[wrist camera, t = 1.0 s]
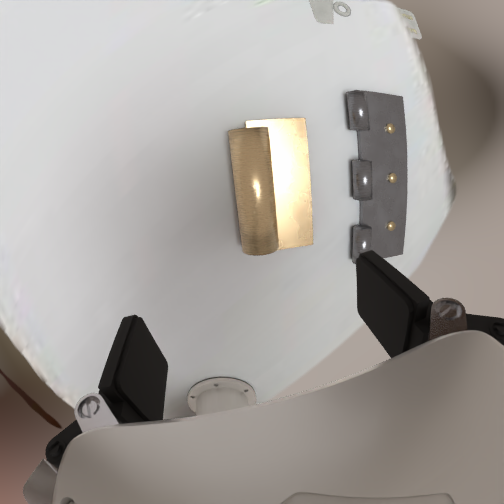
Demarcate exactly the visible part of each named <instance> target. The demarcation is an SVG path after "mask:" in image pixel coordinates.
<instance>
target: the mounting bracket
mask: <svg viewBox="0 0 504 504" xmlns="http://www.w3.org/2000/svg"><path fill="white" fill-rule="evenodd" d="M309 2H310V5H311V8H312V11H313V14H314V17H315V19H316V20H317V21H318V22H319V23H325V24H333V9H334V10H335V12H336V13H337V14H339V15H341V16H344V17H346V16H349V15H350V14H351V10H350V8H349V6H347V5H346V4H345V3H342V2H336V3H334V4H333V0H309ZM340 5H341V6H343V7H345V8H346V12H341V11H340V10H339V9H338V6H340ZM397 8H398V7H397ZM398 9H399V10H400V11H401V13H402V15H403V18H404V20H405V22H406V24H407V26H408V28H409V29H410V32H411V34H412V36H413V38H415V39H422V36H421V33H420V30H419V27H418V24H417V21H416V19H415V16H414V15H413V13H412V12H410V11H408V10H404V9H401V8H398Z"/></svg>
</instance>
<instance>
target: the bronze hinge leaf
mask: <svg viewBox="0 0 504 504" xmlns="http://www.w3.org/2000/svg"><path fill="white" fill-rule="evenodd" d="M245 126H246V128H241V129H234V130H230V131H228V135H229V143H230V152H231V160H232V169H233V177H234V186H235V194H236V202H237V210H238V218H239V227H240V235H241V243H242V250H243V252H244V253H246V254H248V255H266V254H270V253H273V252H275V251H277V250H281V249H287V248H294V247H300V246H307V245H313V225H312V201H311V183H310V168H309V154H308V142H307V131H306V121H305V118H289V119H269V120H255V121H246V122H245Z"/></svg>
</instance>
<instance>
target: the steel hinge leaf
mask: <svg viewBox="0 0 504 504" xmlns="http://www.w3.org/2000/svg"><path fill="white" fill-rule="evenodd" d="M346 95H347V103H348V112H349V123H350V130H357V135H358V150H359V160H352V168H353V199H355V200H360V225H355V226H354V227H353V252H352V262H353V263H354V264H356V259H357V258H359V254H360V253H364V252H367V251H370V250H373V251H374V252H376V253H377V254H378V255H379V256H381V257H382V258H387V257H392V256H397V255H402V254H403V247H404V237H405V225H406V209H407V141H406V126H405V114H404V104H403V97H402V96H396V95H390V94H383V93H376V92H369V91H360V90H355V91H350V92H347V93H346Z"/></svg>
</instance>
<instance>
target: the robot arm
mask: <svg viewBox="0 0 504 504" xmlns="http://www.w3.org/2000/svg"><path fill="white" fill-rule="evenodd" d="M356 273H357V309H358V313H359V315H360V317H361V318H362V319H363V321H364V322H365V323H366V325H367V326H368V327H369V329H370V330H371V331H372V333H373V334H374V335H375V336H376V338H377V339H378V341H379V342H380V343H381V345H382V346H383V347H384V349H385V350H386V352H387V353H388V354H389V356H390V357H391V359H389V360H386V361H384V362H382V363H379V364H377V365H374V366H372V367H370V368H367V369H365V370H362V371H360V372H357V373H355V374H353V375H350V376H347V377H345V378H342V379H339V380H337V381H333V382H331V383H328V384H325V385H322V386H319V387H316V388H313V389H310V390H306V391H303V392H300V393H297V394H293V395H290V396H286V397H283V398H279V399H275V400H271V401H267V402H264V403H259V404H255V403H256V394H255V391H254V390H253V388H252V387H251V386H250V385H248V384H247V383H245V382H243V381H240V380H237V379H232V378H213V379H208V380H205V381H202V382H200V383H198V384H196V385H195V386H194V387H192V388H191V390H190V391H189V393H188V398H187V401H188V405H189V407H190V409H191V410H192V411H193V412H195V413H196V416H192V417H184V418H176V419H167V420H163V411H164V400H165V390H166V381H167V372H168V364H167V361H166V359H165V357H164V356H163V354H162V352H161V351H160V349H159V347H158V345H157V344H156V342H155V340H154V339H153V337H152V335H151V333H150V332H149V330H148V328H147V326H146V324H145V323H144V321H143V319H142V318H141V317H138V316H137V315H132V316H127V317H124V318H123V319H122V322H121V324H120V327H119V329H118V332H117V335H116V337H115V340H114V342H113V345H112V348H111V351H110V353H109V356H108V359H107V362H106V365H105V368H104V370H103V373H102V376H101V379H100V383H99V386H98V388H99V389H100V390H99V394H97V393H90V394H87V395H85V396H83V397H82V398H81V399H80V400H79V401H78V403H77V404H76V407H75V417H76V419H77V420H75V421H74V422H73V423H72V424H70V425H69V426H68V427H67V428H65V429H64V430H63V431H62V432H60V433H59V434H58V435H56V436H55V437H54V438H53V439H52V440H51V441H50V442H49V443H48V445H47V447H46V458H47V460H44V459H43V460H42V461H41V462H40V464H39V465H38V466H37V468H36V469H35V471H34V472H33V473H32V475H31V476H30V477H29V479H28V480H27V482H26V483H25V485H24V487H23V494H24V497H25V499H26V501H27V502H28V504H504V319H502V318H498V317H489V316H480V315H472V314H466V311H465V307H464V306H463V305H462V303H460V302H459V301H458V300H455V299H452V298H441V299H438V300H436V301H435V302H434V303H433V302H432V301H431V300H430V299H429V297H428V296H427V295H426V294H425V293H424V292H423V291H422V290H420V289H419V288H418V287H417V286H416V285H415V284H413V283H412V282H411V281H410V280H409V279H408V278H406V277H405V276H404V275H403V274H402V273H400V272H399V271H398V270H397V269H396V268H394V267H393V266H392V265H391V264H389V263H388V262H387V261H386V260H384V259H383V258H382V257H381V256H379V255H378V254H377V253H376V252H374V251H373V250H370V251H367V252H364V253H360V254H359V258H357V259H356Z"/></svg>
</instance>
